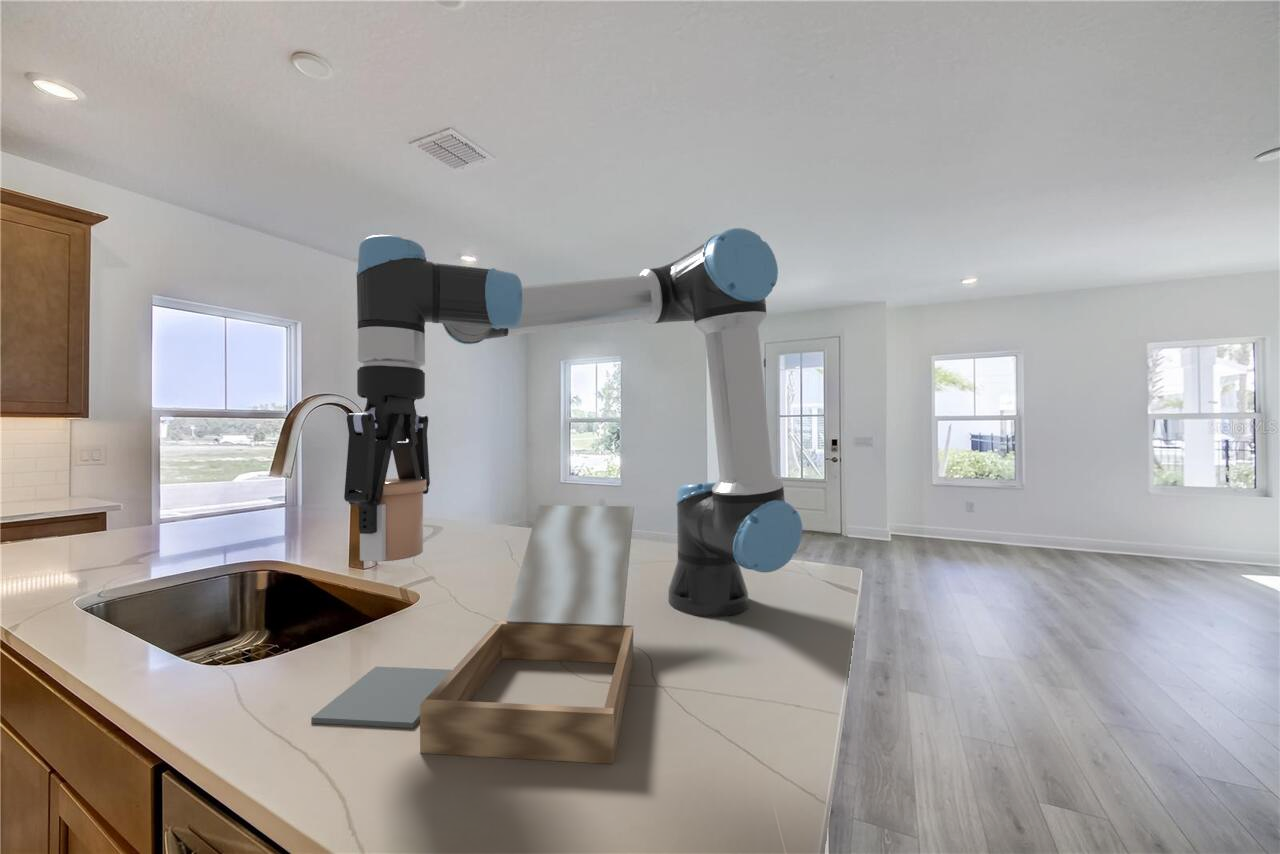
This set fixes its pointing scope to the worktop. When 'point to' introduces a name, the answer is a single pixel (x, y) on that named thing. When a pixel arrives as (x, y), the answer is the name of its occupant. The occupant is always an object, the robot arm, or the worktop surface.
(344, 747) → the worktop surface
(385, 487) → the pot
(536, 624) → the cold frame
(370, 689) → the mat
